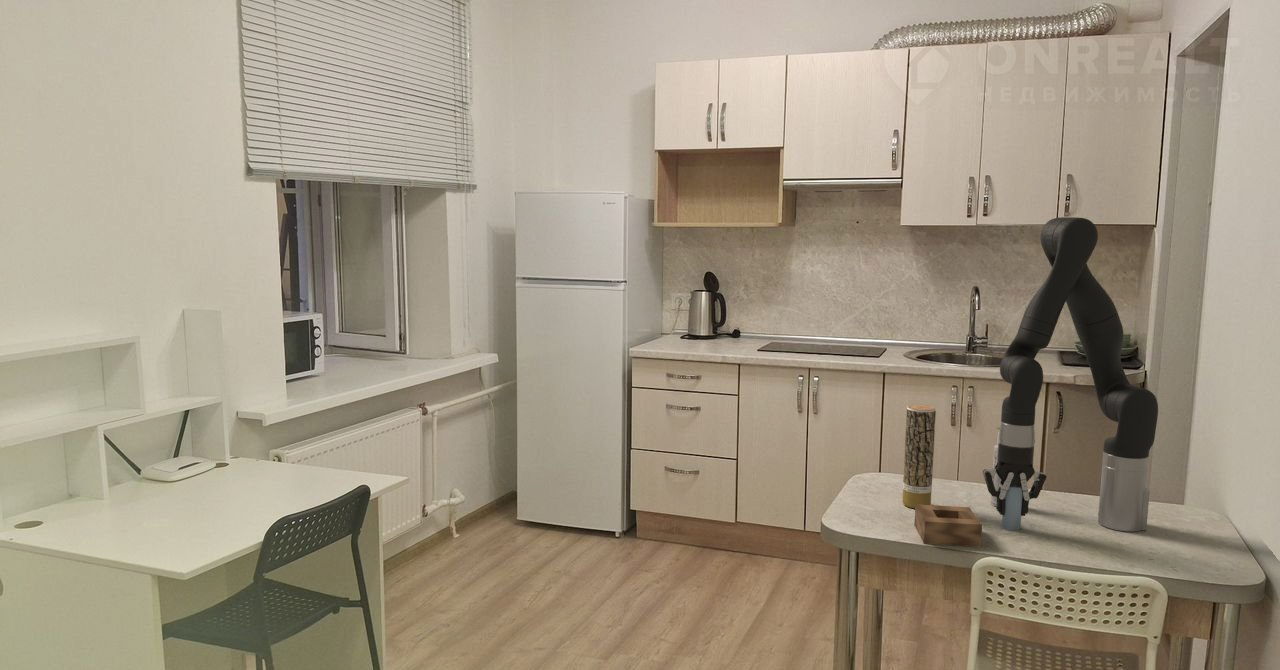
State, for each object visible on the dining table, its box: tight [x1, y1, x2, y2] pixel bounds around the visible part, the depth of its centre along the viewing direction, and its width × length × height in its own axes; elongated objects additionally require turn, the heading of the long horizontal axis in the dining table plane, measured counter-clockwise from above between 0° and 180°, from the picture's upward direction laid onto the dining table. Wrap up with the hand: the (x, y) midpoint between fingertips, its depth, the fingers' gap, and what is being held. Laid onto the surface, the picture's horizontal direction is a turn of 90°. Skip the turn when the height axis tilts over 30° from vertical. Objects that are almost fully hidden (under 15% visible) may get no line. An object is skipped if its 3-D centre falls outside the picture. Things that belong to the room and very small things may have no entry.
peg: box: [1001, 485, 1023, 532], centre depth 198 cm, size 4×4×10 cm
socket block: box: [913, 504, 983, 548], centre depth 193 cm, size 12×12×5 cm
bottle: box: [990, 426, 1000, 507], centre depth 214 cm, size 4×4×20 cm
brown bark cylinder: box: [902, 404, 937, 509], centre depth 213 cm, size 7×7×25 cm
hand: (1011, 514), depth 199 cm, fingers closed on peg, 4 cm apart
